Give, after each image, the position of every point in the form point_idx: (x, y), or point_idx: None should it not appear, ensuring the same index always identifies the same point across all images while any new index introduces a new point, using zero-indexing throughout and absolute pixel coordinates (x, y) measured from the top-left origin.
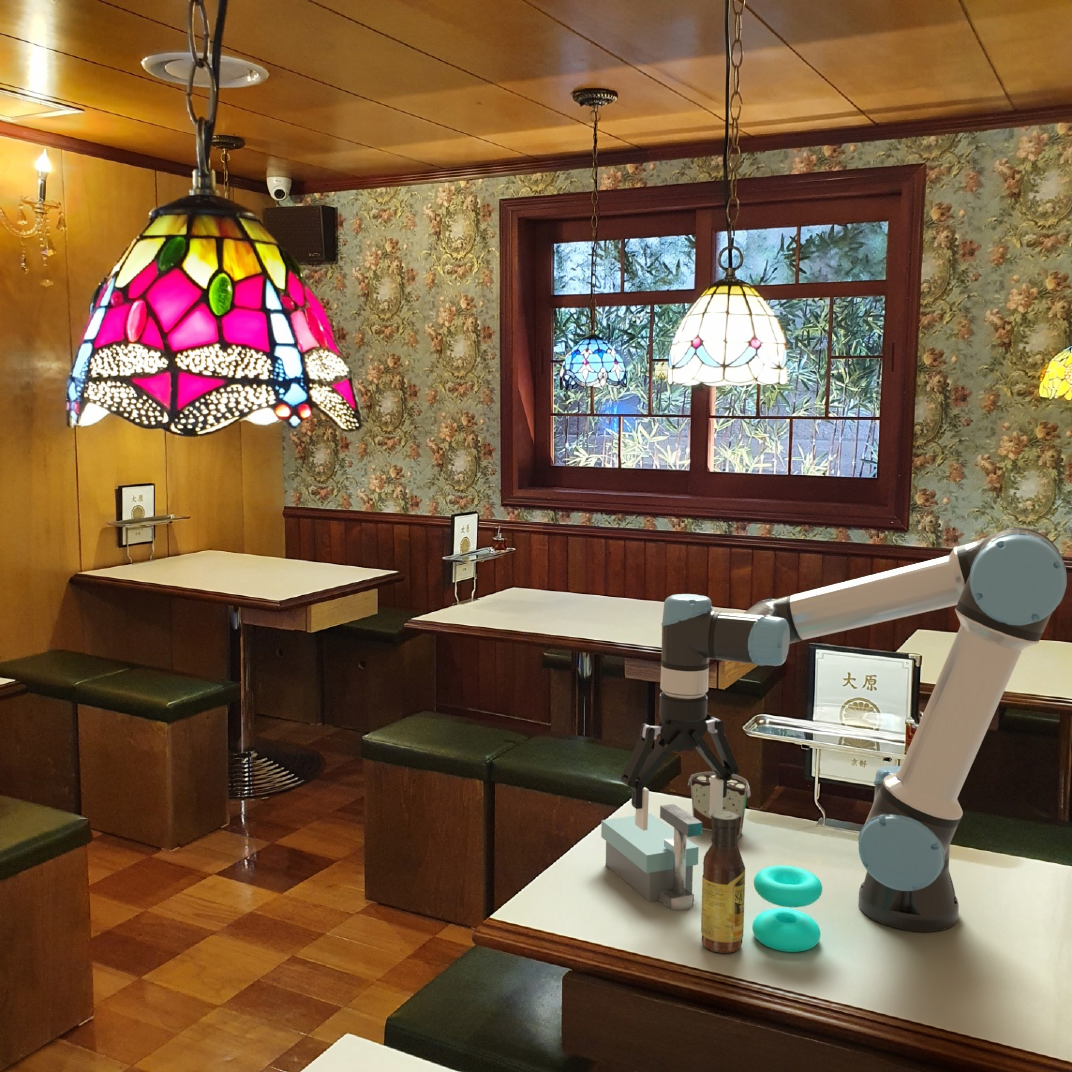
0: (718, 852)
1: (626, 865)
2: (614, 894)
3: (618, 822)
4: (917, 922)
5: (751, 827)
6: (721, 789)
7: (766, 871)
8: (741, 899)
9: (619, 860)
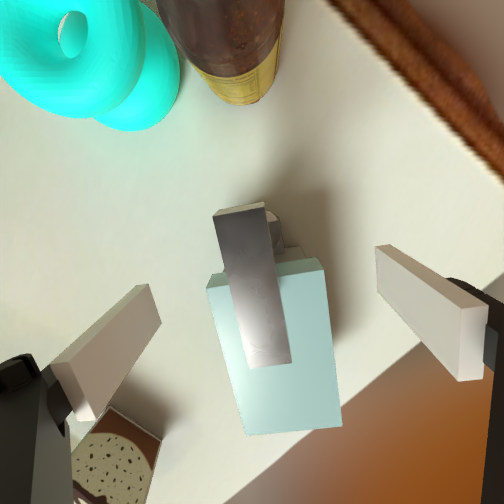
0: None
1: None
2: (341, 277)
3: (316, 413)
4: None
5: (86, 427)
6: (84, 338)
7: (94, 57)
8: None
9: None
